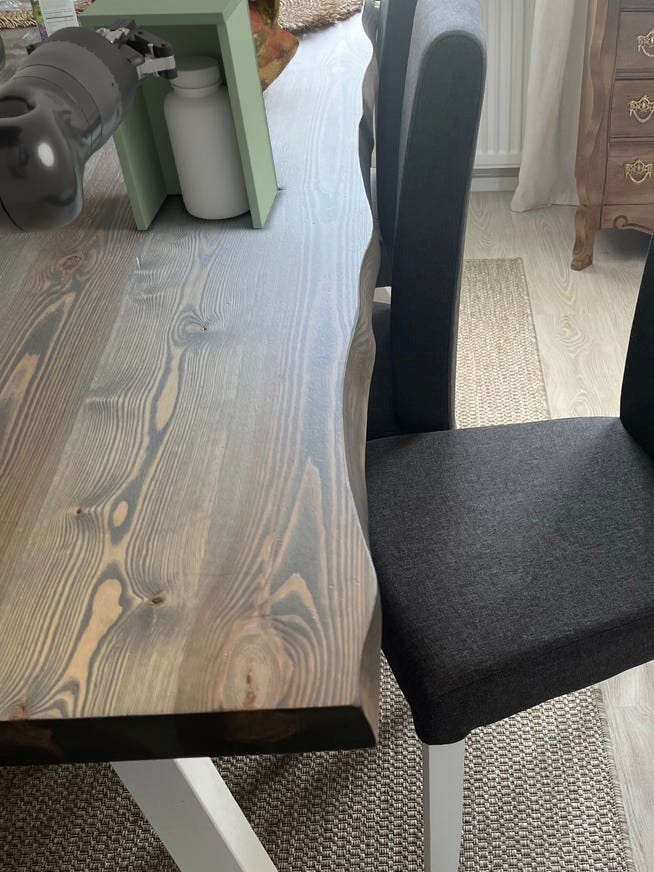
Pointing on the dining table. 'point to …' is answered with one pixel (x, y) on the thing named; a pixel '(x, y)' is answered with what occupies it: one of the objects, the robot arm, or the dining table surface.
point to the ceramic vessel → (270, 40)
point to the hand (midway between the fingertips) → (129, 31)
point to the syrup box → (53, 16)
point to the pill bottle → (205, 140)
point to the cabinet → (145, 123)
